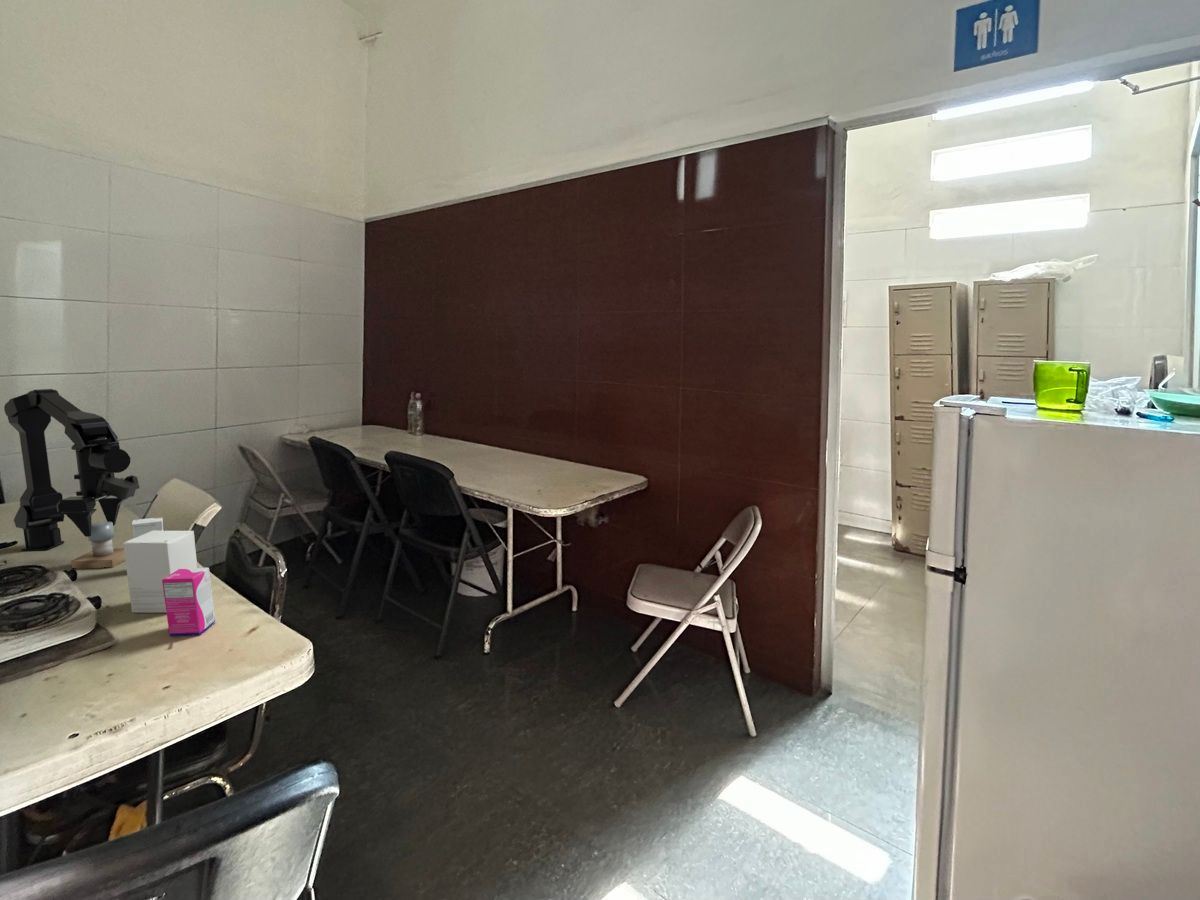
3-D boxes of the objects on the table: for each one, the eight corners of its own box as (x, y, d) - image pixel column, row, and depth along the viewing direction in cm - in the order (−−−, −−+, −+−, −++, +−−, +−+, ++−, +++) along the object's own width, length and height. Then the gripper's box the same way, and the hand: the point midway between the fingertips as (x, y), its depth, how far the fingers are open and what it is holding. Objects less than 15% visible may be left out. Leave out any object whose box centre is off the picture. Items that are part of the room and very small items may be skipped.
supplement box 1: (202, 596, 136) (196, 529, 133) (174, 613, 127) (167, 542, 124) (160, 595, 136) (153, 529, 133) (129, 613, 127) (121, 542, 124)
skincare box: (135, 573, 148) (129, 524, 146) (136, 568, 152) (131, 519, 150) (166, 569, 151) (161, 520, 149) (167, 563, 155) (162, 516, 153)
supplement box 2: (185, 623, 123) (179, 567, 121) (216, 622, 123) (211, 567, 121) (167, 636, 117) (161, 578, 115) (200, 636, 117) (194, 577, 116)
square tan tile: (71, 568, 151) (68, 544, 150) (96, 556, 159) (93, 533, 158) (112, 567, 152) (109, 543, 151) (134, 555, 161) (132, 532, 160)
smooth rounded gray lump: (83, 541, 152) (81, 527, 151) (97, 535, 157) (95, 521, 156) (106, 540, 153) (104, 527, 152) (118, 534, 157) (117, 521, 157)
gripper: (104, 476, 144) (112, 541, 146) (151, 461, 162) (157, 519, 165) (51, 477, 142) (59, 543, 145) (103, 462, 161) (110, 520, 163)
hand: (100, 530), depth 154 cm, fingers open, 9 cm apart
